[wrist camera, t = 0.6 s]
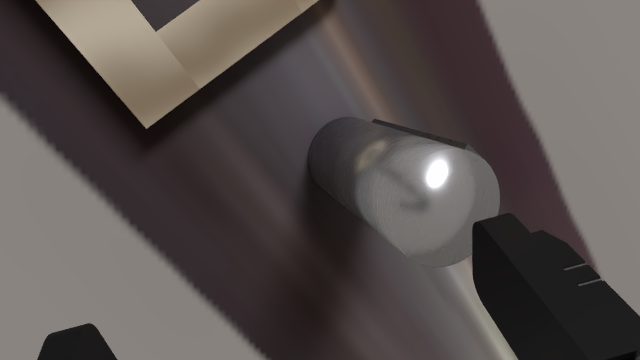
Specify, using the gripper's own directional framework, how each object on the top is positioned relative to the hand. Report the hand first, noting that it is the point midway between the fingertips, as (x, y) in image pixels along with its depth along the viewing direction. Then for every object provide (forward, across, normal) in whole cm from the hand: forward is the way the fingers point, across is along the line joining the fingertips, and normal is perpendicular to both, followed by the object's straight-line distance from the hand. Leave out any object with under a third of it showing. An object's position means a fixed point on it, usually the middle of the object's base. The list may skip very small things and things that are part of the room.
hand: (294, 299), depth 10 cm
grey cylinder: (+20, -4, +8) cm, 22 cm away
